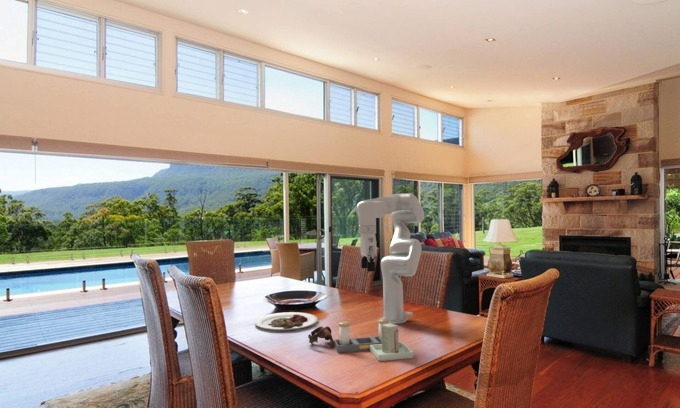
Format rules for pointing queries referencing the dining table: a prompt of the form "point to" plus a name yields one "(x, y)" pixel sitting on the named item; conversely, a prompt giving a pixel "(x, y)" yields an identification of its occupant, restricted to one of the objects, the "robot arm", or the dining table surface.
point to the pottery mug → (321, 335)
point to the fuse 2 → (380, 321)
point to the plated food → (286, 321)
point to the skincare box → (390, 338)
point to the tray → (382, 356)
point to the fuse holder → (357, 344)
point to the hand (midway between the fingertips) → (368, 269)
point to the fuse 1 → (344, 333)
